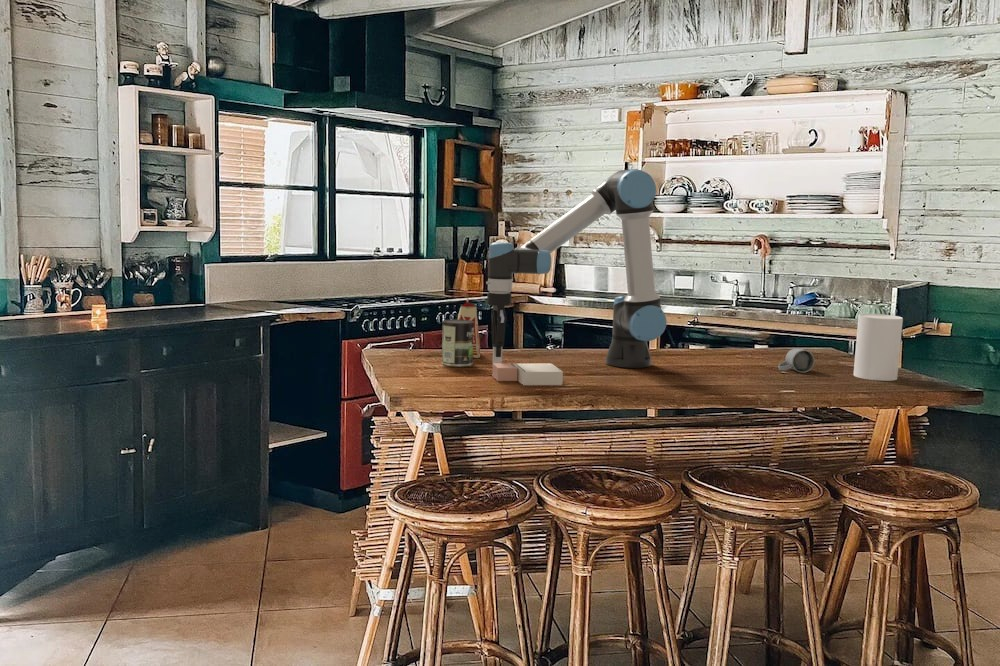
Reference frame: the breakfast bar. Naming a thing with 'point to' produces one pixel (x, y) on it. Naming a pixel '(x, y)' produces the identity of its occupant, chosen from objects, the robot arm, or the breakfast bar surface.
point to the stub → (504, 372)
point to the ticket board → (539, 374)
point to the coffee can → (457, 342)
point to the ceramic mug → (798, 361)
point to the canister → (878, 347)
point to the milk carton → (470, 313)
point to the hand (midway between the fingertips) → (497, 366)
